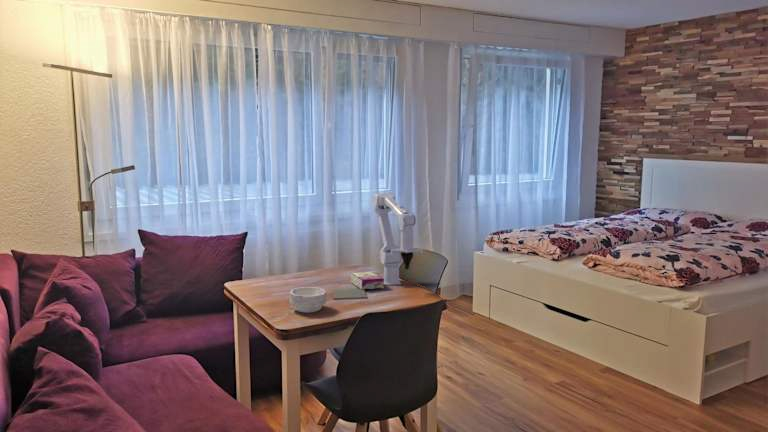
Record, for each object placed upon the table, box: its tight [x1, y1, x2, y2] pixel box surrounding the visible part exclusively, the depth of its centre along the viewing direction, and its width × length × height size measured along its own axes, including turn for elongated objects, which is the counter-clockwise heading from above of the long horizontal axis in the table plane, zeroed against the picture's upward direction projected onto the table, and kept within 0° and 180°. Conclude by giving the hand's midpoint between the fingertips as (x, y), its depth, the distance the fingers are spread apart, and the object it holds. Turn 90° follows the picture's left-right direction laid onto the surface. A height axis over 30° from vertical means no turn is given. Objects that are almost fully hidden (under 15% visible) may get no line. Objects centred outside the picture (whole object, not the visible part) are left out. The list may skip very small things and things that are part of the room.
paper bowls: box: [289, 286, 328, 314], centre depth 246 cm, size 15×15×8 cm
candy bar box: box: [350, 271, 385, 291], centre depth 283 cm, size 11×5×16 cm
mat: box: [332, 288, 368, 300], centre depth 269 cm, size 14×14×1 cm
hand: (406, 268), depth 273 cm, fingers closed
